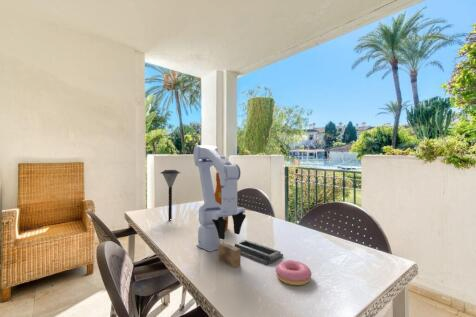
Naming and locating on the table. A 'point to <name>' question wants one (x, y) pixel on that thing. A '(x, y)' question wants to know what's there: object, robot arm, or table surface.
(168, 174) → the solar garden light
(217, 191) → the wine bottle
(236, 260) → the door panel
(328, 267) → the table surface
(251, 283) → the table surface
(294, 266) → the doughnut
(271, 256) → the floor track
